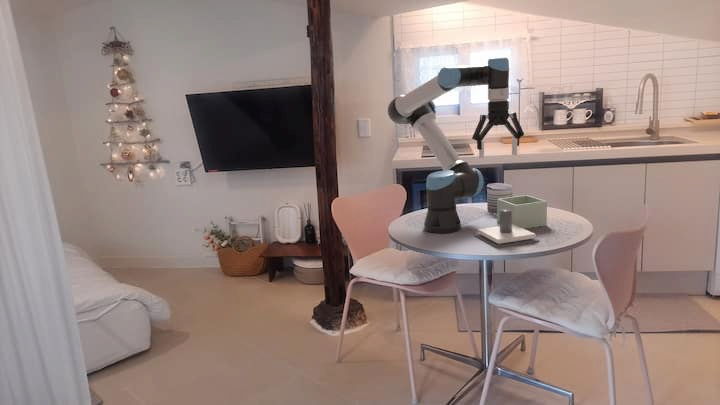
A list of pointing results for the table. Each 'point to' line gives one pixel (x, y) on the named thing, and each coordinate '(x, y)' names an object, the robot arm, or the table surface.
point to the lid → (506, 230)
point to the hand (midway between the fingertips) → (498, 156)
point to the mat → (505, 243)
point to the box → (524, 210)
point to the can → (497, 195)
